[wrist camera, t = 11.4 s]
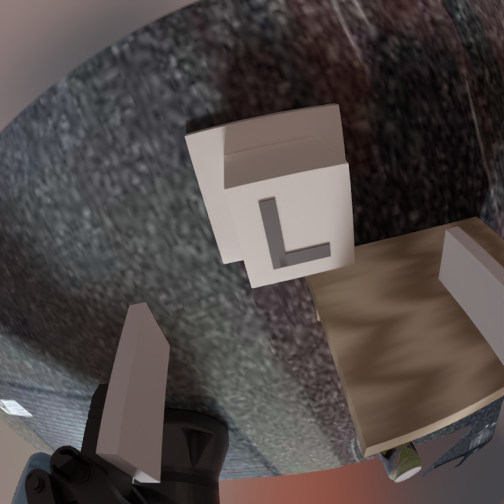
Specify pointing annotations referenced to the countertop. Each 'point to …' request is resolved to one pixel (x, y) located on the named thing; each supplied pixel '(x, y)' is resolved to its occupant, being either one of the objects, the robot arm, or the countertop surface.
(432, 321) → the screen
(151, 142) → the countertop surface
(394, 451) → the beverage can
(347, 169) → the letter cube
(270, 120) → the tile
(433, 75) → the countertop surface
